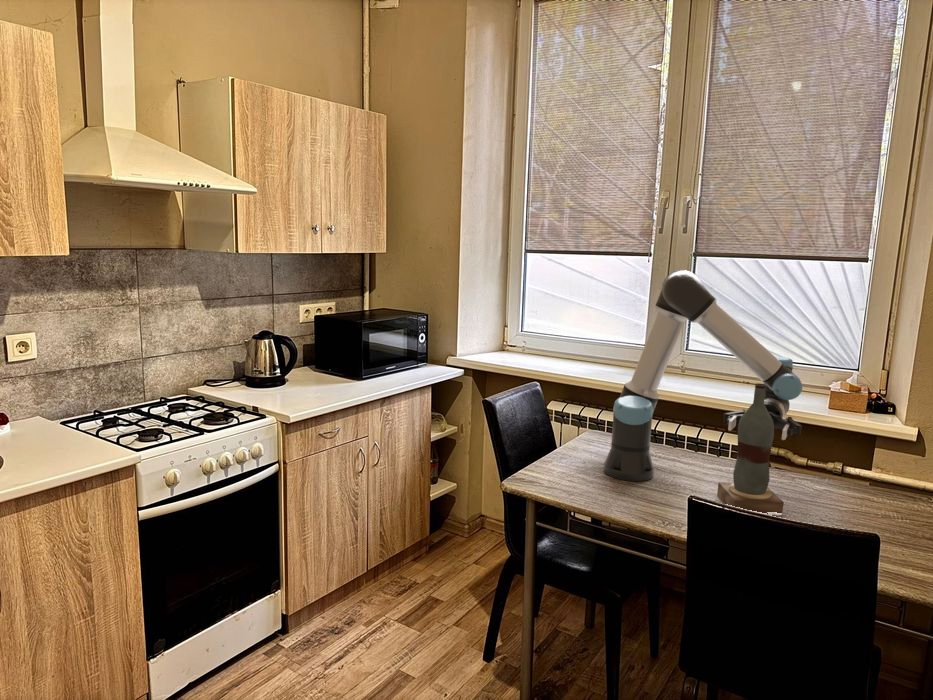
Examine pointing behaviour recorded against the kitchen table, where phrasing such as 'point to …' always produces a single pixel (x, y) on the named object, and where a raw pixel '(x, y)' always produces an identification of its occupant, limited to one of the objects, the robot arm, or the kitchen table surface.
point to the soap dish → (750, 499)
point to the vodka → (754, 447)
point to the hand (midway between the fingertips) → (756, 430)
